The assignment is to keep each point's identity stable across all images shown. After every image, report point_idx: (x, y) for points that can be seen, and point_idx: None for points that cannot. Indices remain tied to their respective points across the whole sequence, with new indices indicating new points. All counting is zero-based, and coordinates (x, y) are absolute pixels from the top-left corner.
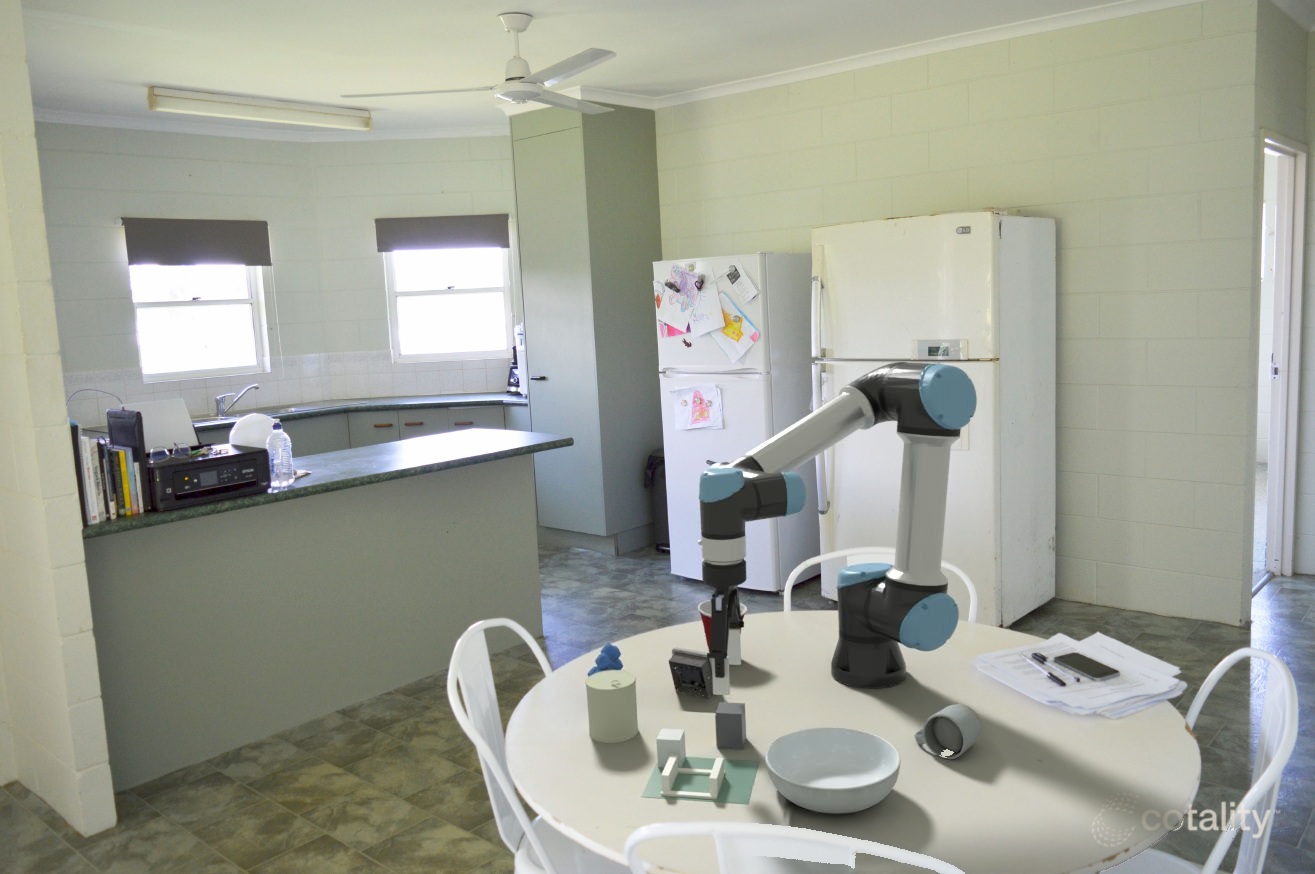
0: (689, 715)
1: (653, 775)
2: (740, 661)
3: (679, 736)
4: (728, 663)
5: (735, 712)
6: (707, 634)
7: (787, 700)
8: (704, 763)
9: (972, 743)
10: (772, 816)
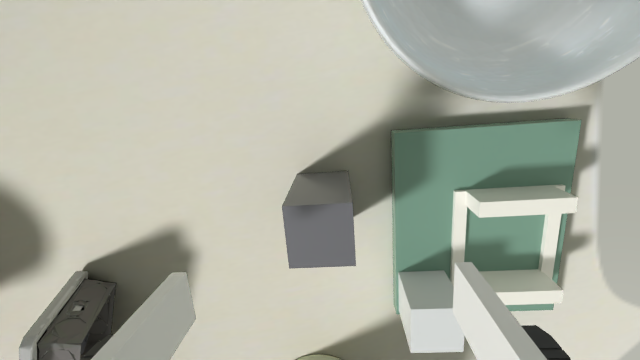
0: (199, 298)
1: None
2: (176, 278)
3: (447, 312)
4: (534, 356)
5: (344, 219)
6: None
7: (65, 128)
8: (418, 235)
9: None
10: None
